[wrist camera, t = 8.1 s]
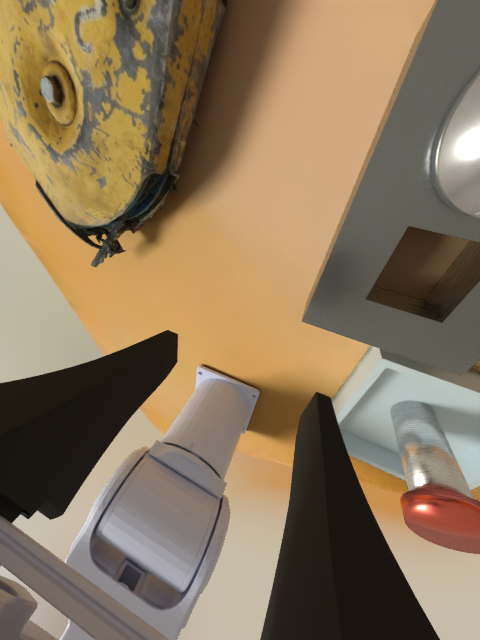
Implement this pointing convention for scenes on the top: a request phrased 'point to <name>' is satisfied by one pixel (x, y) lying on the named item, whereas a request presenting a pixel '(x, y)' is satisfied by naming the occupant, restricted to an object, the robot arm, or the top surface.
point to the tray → (407, 385)
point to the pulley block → (104, 103)
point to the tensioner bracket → (416, 205)
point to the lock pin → (434, 481)
